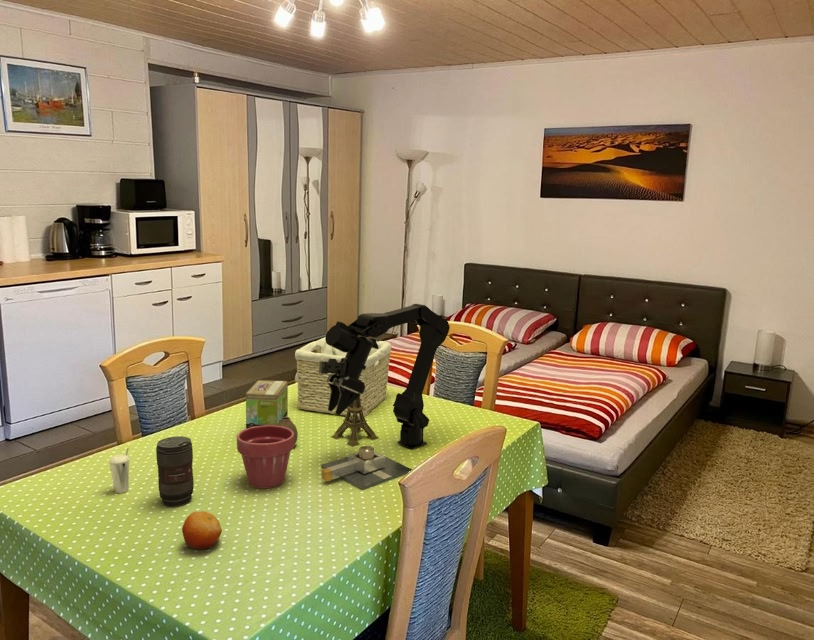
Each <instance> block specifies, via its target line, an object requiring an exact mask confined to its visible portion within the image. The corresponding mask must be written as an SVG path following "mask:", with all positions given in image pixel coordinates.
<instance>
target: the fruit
mask: <svg viewBox="0 0 814 640" xmlns="http://www.w3.org/2000/svg"><path fill="white" fill-rule="evenodd" d="M181 528H182V529H181V531H182V536H183V540H184V542H185V547H184V548H183V550H184V551H185V550H186V549H187V548H192V549H196V550H208V549H210V548H211V547H213V546H214V545H215V544H216V542H217V541H218V540H219V539H220V536H221V535H222V531H223V530H222V526H221V523H220V521H219V519H218V518H217V517H216V516H215V515H214V514H213V513H211V512H207V511H204V510H203V511H202V510H201V511H194V512H193V511H192V512H191V513H190V514H189V515H188V516H187V517H186V518H185V520H184V522H183V524H182V527H181Z"/></svg>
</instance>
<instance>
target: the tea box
mask: <svg viewBox="0 0 814 640" xmlns="http://www.w3.org/2000/svg"><path fill="white" fill-rule="evenodd" d="M288 387H289V386H288V381H286V380H257V381H256V382H255V383H254V384H253V385H252V386H251V387H250V389H248V390H247V391H246V393H245V429H247V428H251V427H255V426H263V425H275V426H277V425H278V423H279V422H280V420H281V418H282V417H289V416H288V415H289V413H288V411H289V408H288V406H289V403H288V402H289V401H288V400H289V397H288V395H289V392H288V390H289V389H288Z"/></svg>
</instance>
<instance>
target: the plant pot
mask: <svg viewBox="0 0 814 640" xmlns="http://www.w3.org/2000/svg"><path fill="white" fill-rule="evenodd" d="M294 447H295V445H294V432H293V431H292V430H291V429H289V428H286V427H283V426H275V425H263V426H255V427H251V428H247V429H246V428H245V429H242V430H241V431H239V432H238V433H237V435H236V448H237V449H236V450H237V451H238V452H237V453H239V454H241V459H242V462H243V466H244V471H245V474H246V477H247V481H248V484H249V485H250V486H252V487H254V488H259V489H270V488H271V489H272V488H275V487H278V486H281V485H282V484H283V483H284V481H285V478H286V474H287V469H288V466H289V461H290V455H291V451H292V450H294Z"/></svg>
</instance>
